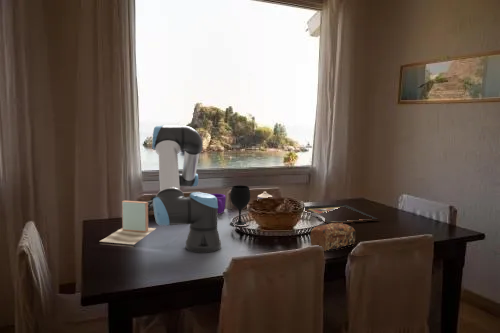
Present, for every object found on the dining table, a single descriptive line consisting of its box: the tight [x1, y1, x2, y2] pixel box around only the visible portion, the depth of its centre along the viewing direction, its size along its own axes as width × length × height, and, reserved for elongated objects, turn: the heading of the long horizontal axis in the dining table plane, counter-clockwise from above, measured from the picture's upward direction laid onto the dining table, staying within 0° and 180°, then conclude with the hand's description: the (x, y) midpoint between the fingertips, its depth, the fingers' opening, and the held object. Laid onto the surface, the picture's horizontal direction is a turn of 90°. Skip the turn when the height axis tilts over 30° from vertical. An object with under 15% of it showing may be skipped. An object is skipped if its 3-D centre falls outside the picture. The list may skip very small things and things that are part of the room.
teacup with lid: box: [257, 191, 273, 200], centre depth 231 cm, size 12×9×12 cm
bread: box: [309, 223, 357, 252], centre depth 171 cm, size 19×11×10 cm, turn 122°
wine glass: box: [229, 184, 251, 227], centre depth 199 cm, size 10×10×20 cm
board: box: [99, 227, 157, 248], centre depth 175 cm, size 24×16×1 cm, turn 171°
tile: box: [121, 200, 149, 232], centre depth 180 cm, size 2×12×14 cm, turn 81°
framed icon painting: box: [304, 203, 378, 224], centre depth 225 cm, size 38×35×3 cm
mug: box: [210, 193, 227, 215], centre depth 221 cm, size 17×11×10 cm, turn 22°
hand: (140, 211), depth 186 cm, fingers closed
